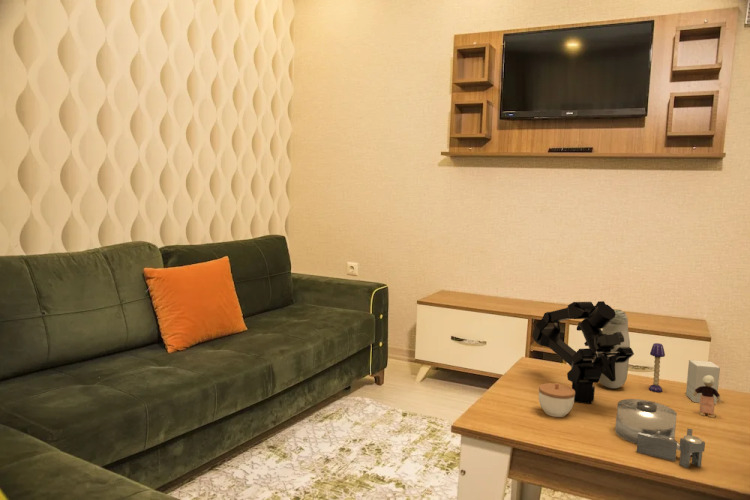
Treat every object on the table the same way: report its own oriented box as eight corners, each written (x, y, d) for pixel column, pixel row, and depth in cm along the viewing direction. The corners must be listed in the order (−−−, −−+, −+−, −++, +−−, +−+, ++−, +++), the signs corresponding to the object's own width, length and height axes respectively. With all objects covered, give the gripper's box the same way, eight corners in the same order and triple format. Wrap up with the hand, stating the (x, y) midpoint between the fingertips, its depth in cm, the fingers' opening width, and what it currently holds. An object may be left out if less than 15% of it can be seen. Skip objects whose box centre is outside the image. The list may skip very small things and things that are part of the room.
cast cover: (614, 440, 153) (616, 408, 152) (616, 421, 166) (618, 391, 165) (675, 452, 146) (678, 419, 145) (672, 432, 160) (675, 401, 159)
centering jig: (634, 450, 146) (636, 425, 146) (688, 445, 150) (690, 421, 150) (667, 472, 135) (669, 444, 134) (724, 466, 139) (727, 439, 139)
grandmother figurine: (718, 414, 174) (722, 375, 172) (720, 419, 170) (724, 379, 169) (690, 410, 177) (694, 371, 176) (691, 414, 173) (695, 375, 172)
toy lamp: (656, 393, 192) (660, 346, 190) (644, 388, 196) (648, 343, 194) (665, 391, 194) (669, 345, 192) (652, 387, 198) (656, 341, 196)
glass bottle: (592, 381, 202) (598, 306, 199) (621, 383, 201) (627, 307, 198) (599, 390, 192) (605, 311, 190) (630, 393, 191) (636, 313, 188)
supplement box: (717, 404, 183) (720, 367, 181) (692, 402, 184) (696, 365, 183) (708, 397, 190) (712, 361, 189) (685, 394, 191) (688, 359, 190)
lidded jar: (579, 413, 171) (581, 384, 170) (564, 423, 163) (566, 392, 162) (546, 404, 178) (548, 375, 177) (530, 412, 170) (532, 383, 169)
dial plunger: (666, 446, 145) (666, 437, 145) (673, 445, 146) (674, 437, 146) (686, 459, 139) (687, 449, 138) (694, 458, 139) (695, 449, 139)
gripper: (580, 323, 169) (600, 369, 159) (632, 322, 173) (655, 367, 164) (563, 341, 177) (581, 386, 168) (614, 339, 182) (634, 383, 172)
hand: (613, 380), depth 167 cm, fingers closed
